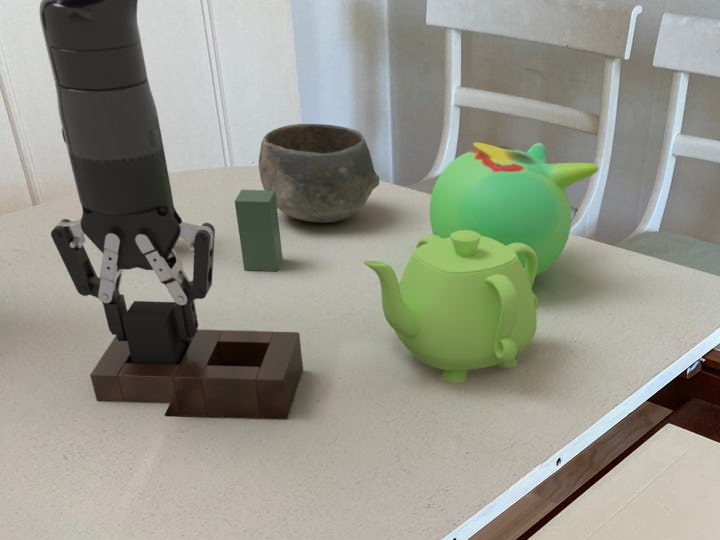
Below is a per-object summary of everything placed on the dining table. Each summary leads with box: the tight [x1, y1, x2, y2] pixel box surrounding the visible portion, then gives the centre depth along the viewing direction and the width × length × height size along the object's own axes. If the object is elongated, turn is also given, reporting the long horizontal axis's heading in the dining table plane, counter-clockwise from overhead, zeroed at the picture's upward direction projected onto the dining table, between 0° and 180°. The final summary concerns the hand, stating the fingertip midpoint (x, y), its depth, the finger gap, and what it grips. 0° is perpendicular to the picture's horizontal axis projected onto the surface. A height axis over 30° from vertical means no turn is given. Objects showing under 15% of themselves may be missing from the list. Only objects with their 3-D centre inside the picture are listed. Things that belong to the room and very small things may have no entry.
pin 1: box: [122, 300, 186, 365], centre depth 92 cm, size 4×4×8 cm
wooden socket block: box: [89, 329, 304, 420], centre depth 93 cm, size 18×10×4 cm, turn 89°
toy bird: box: [429, 141, 600, 277], centre depth 113 cm, size 18×17×15 cm
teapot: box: [362, 230, 539, 384], centre depth 96 cm, size 16×14×13 cm
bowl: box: [258, 123, 380, 224], centre depth 127 cm, size 14×15×10 cm
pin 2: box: [234, 189, 283, 272], centre depth 115 cm, size 4×4×8 cm
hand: (155, 337), depth 91 cm, fingers open, 5 cm apart
